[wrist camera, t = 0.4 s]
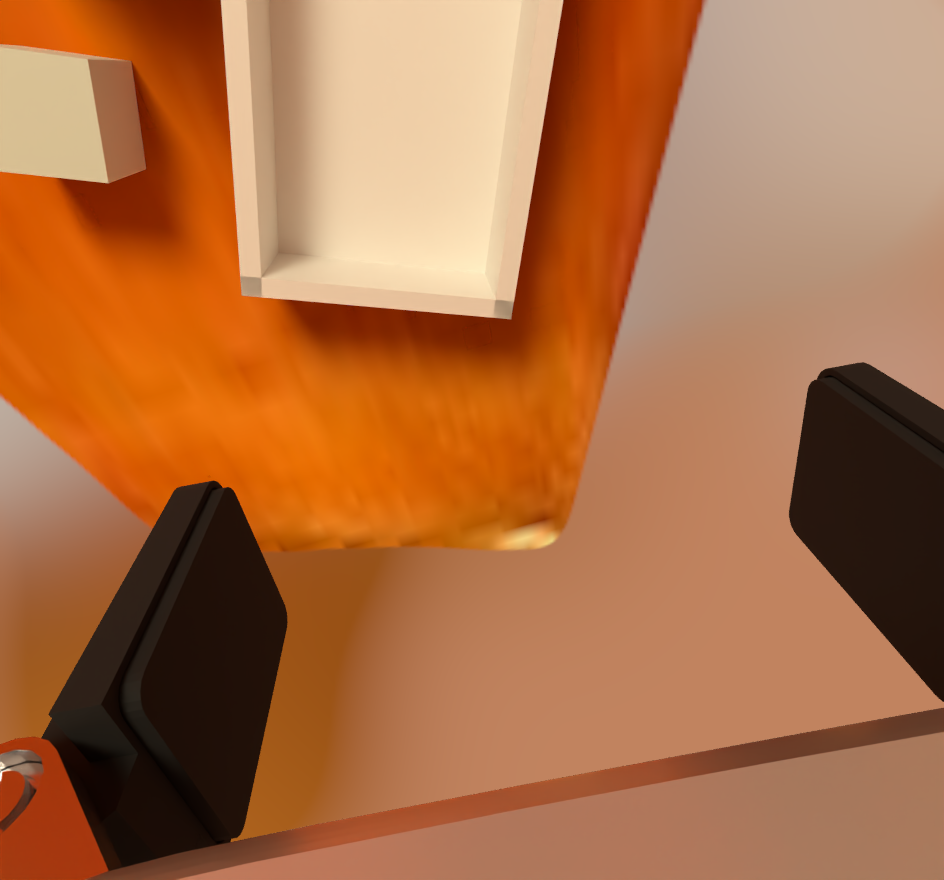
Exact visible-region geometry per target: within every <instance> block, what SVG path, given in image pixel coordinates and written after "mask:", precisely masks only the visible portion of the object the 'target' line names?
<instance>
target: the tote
mask: <svg viewBox="0 0 944 880" xmlns="http://www.w3.org/2000/svg"><path fill="white" fill-rule="evenodd" d="M562 6H563V0H221V9H222V24H223V38H224V52H225V66H226V80H227V94H228V108H229V122H230V136H231V150H232V164H233V178H234V192H235V206H236V220H237V235H238V249H239V263H240V277H241V291H242V296H254V297H265V298H276V299H288V300H299V301H310V302H321V303H333V304H344V305H355V306H367V307H378V308H389V309H401V310H412V311H423V312H434V313H446V314H457V315H468V316H480V317H491V318H502V319H511V317H512V311H513V304H514V298H515V292H516V286H517V280H518V274H519V268H520V262H521V256H522V250H523V243H524V237H525V231H526V225H527V219H528V213H529V207H530V201H531V195H532V189H533V183H534V176H535V170H536V164H537V158H538V152H539V146H540V140H541V134H542V128H543V122H544V115H545V109H546V103H547V97H548V91H549V85H550V79H551V73H552V67H553V61H554V55H555V48H556V42H557V36H558V30H559V24H560V18H561V12H562Z"/></svg>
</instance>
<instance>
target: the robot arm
mask: <svg viewBox="0 0 944 880" xmlns="http://www.w3.org/2000/svg"><path fill="white" fill-rule="evenodd" d="M789 518H790V523H791V526H792V528H793V530H794V532H795V533H796V535H797V536H798V537H799V538H800V539H801V540H802V542H803V543H804V544H805V545H806V546H807V547H808V549H809V550H810V551H811V552H812V553H813V554H814V555H815V557H816V558H817V559H818V560H819V561H820V562H821V564H822V565H823V566H824V567H825V568H826V569H827V570H828V572H829V573H830V574H831V575H832V576H833V577H834V578H835V580H836V581H837V582H838V583H839V584H840V585H841V587H843V589H844V590H845V591H846V592H847V593H848V595H849V596H850V597H851V598H852V599H853V600H854V601H855V603H856V604H857V605H858V606H859V607H860V608H861V610H862V611H863V612H864V613H865V614H866V615H867V617H868V618H869V619H870V620H871V621H872V622H873V623H874V625H875V626H876V627H877V628H878V629H879V630H880V632H882V634H883V635H884V636H885V637H886V638H887V639H888V641H889V642H890V643H891V644H892V645H893V646H894V648H895V649H896V650H897V651H898V652H899V653H900V655H901V656H902V657H903V658H904V659H905V660H906V662H907V663H908V664H909V665H910V666H911V667H912V668H913V670H914V671H916V673H917V674H918V675H919V676H920V678H921V679H922V680H923V681H924V682H925V683H926V685H927V686H928V687H929V688H930V689H931V690H932V691H933V693H934V694H935V695H936V696H937V697H938V698H939V699H941V700H942V701H943V702H944V410H943V409H942V408H940V407H938V406H937V405H935V404H933V403H932V402H930V401H929V400H927V399H925V398H924V397H922V396H920V395H919V394H917V393H915V392H914V391H912V390H911V389H909V388H907V387H905V386H904V385H902V384H901V383H899V382H897V381H896V380H894V379H892V378H891V377H889V376H887V375H886V374H884V373H882V372H881V371H879V370H877V369H876V368H874V367H872V366H871V365H869V364H866V363H855V364H850V365H844V366H839V367H834V368H828V369H825V370H823V371H822V372H821V373H820V374H819V376H818V378H817V380H814V381H812V382H811V384H810V385H809V388H808V392H807V398H806V405H805V411H804V418H803V424H802V431H801V437H800V445H799V450H798V457H797V464H796V470H795V477H794V483H793V490H792V497H791V503H790V510H789ZM286 629H287V612H286V608H285V604H284V602H283V600H282V597H281V595H280V593H279V591H278V588H277V586H276V584H275V582H274V579H273V577H272V575H271V573H270V571H269V568H268V566H267V564H266V561H265V559H264V557H263V555H262V553H261V550H260V548H259V546H258V544H257V541H256V539H255V537H254V535H253V532H252V530H251V528H250V526H249V523H248V521H247V519H246V517H245V514H244V512H243V510H242V508H241V505H240V503H239V501H238V499H237V496H236V494H235V492H234V491H233V490H232V489H231V488H229V487H227V488H222V486H221V485H220V484H219V483H218V482H216V481H209V482H204V483H198V484H193V485H187V486H182V487H178V488H176V490H175V491H174V492H173V494H172V496H171V497H170V499H169V501H168V503H167V504H166V506H165V508H164V510H163V512H162V513H161V515H160V517H159V519H158V520H157V522H156V524H155V526H154V528H153V529H152V531H151V533H150V535H149V537H148V538H147V540H146V542H145V544H144V545H143V547H142V549H141V551H140V552H139V554H138V556H137V558H136V560H135V561H134V563H133V565H132V567H131V568H130V570H129V572H128V574H127V576H126V577H125V579H124V581H123V583H122V585H121V586H120V588H119V590H118V592H117V593H116V595H115V597H114V599H113V600H112V602H111V604H110V606H109V608H108V610H107V611H106V613H105V615H104V616H103V618H102V620H101V622H100V624H99V625H98V627H97V629H96V631H95V632H94V634H93V636H92V638H91V640H90V641H89V643H88V645H87V647H86V648H85V650H84V652H83V654H82V656H81V657H80V659H79V661H78V663H77V664H76V666H75V668H74V670H73V672H72V674H71V675H70V677H69V679H68V680H67V682H66V684H65V686H64V688H63V689H62V691H61V693H60V695H59V697H58V698H57V700H56V702H55V704H54V705H53V707H52V709H51V711H50V713H49V715H50V717H52V720H51V721H50V723H49V725H48V727H47V729H46V730H45V732H44V734H43V736H42V738H38V737H27V738H18V739H14V740H11V741H8V742H6V743H3V744H0V880H944V708H940V709H934V710H929V711H923V712H917V713H912V714H906V715H901V716H895V717H889V718H884V719H878V720H873V721H867V722H862V723H856V724H850V725H845V726H839V727H834V728H828V729H823V730H817V731H811V732H806V733H800V734H795V735H789V736H784V737H779V738H773V739H768V740H762V741H757V742H751V743H746V744H740V745H735V746H730V747H724V748H719V749H714V750H708V751H703V752H697V753H692V754H686V755H681V756H675V757H670V758H665V759H659V760H654V761H648V762H643V763H638V764H633V765H627V766H622V767H616V768H611V769H605V770H600V771H595V772H589V773H584V774H579V775H573V776H568V777H562V778H557V779H552V780H546V781H541V782H536V783H531V784H525V785H520V786H514V787H510V788H504V789H499V790H494V791H488V792H483V793H478V794H473V795H467V796H462V797H457V798H452V799H446V800H441V801H436V802H431V803H426V804H421V805H415V806H410V807H405V808H399V809H394V810H389V811H384V812H378V813H373V814H368V815H363V816H357V817H352V818H347V819H342V820H336V821H331V822H326V823H321V824H316V825H311V826H306V827H302V828H297V829H292V830H287V831H282V832H277V833H273V834H268V835H263V836H258V837H254V838H249V839H244V840H239V841H234V842H230V841H231V839H232V838H237V837H238V836H239V835H240V834H241V832H242V830H243V827H244V824H245V820H246V815H247V811H248V806H249V802H250V797H251V792H252V788H253V783H254V778H255V773H256V769H257V765H258V760H259V755H260V750H261V745H262V741H263V737H264V732H265V727H266V723H267V717H268V713H269V709H270V704H271V699H272V695H273V690H274V685H275V681H276V676H277V671H278V667H279V662H280V657H281V653H282V647H283V643H284V638H285V634H286Z"/></svg>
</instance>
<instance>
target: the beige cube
mask: <svg viewBox="0 0 944 880" xmlns="http://www.w3.org/2000/svg"><path fill="white" fill-rule="evenodd" d="M143 170H146V163H145V156H144V149H143V142H142V134H141V127H140V120H139V113H138V105H137V98H136V91H135V84H134V76H133V69H132V62H131V61H127V60H119V59H112V58H105V57H98V56H91V55H84V54H76V53H69V52H62V51H55V50H48V49H40V48H33V47H26V46H16V45H2V44H0V171H2V172H11V173H20V174H29V175H38V176H47V177H56V178H65V179H74V180H83V181H92V182H101V183H111V182H113V181H116V180H119V179H121V178H124V177H127V176H129V175H132V174H135V173H138V172H140V171H143Z"/></svg>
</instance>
